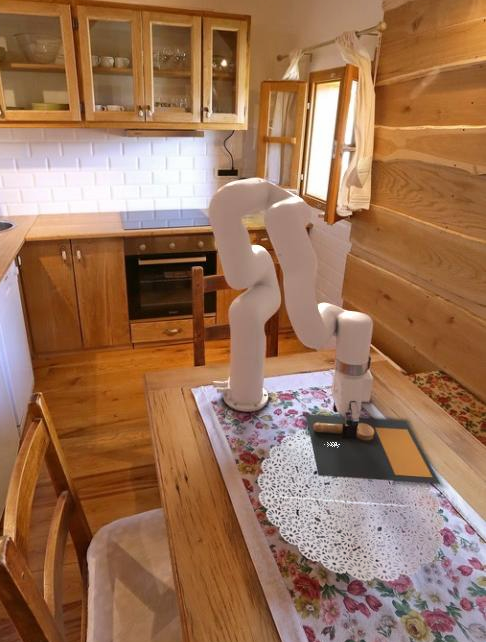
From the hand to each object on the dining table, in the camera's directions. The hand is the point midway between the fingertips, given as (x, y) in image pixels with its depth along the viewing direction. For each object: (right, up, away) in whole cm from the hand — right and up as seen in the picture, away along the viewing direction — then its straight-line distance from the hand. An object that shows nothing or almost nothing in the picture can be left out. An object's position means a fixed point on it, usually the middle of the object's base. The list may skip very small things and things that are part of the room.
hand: (343, 424), depth 100 cm
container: (+8, +3, +17) cm, 19 cm away
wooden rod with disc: (+1, -3, +1) cm, 3 cm away
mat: (+4, -4, -3) cm, 7 cm away
